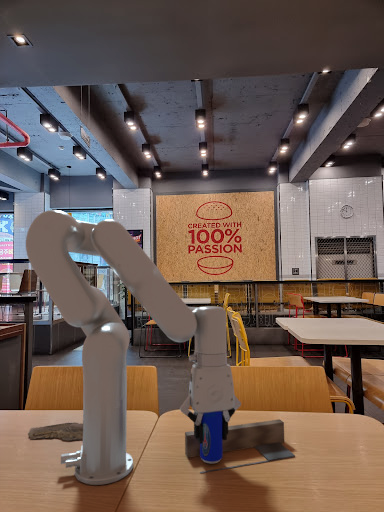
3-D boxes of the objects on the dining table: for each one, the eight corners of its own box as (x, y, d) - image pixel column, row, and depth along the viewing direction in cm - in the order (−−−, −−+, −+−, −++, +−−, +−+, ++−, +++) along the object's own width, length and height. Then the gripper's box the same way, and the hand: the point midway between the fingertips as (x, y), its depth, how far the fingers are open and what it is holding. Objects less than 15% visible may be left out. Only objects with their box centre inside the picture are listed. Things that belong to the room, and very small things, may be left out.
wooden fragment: (16, 440, 89) (16, 436, 89) (39, 423, 100) (39, 419, 100) (110, 445, 87) (110, 440, 87) (123, 427, 97) (123, 423, 98)
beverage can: (196, 455, 78) (196, 390, 80) (215, 451, 81) (215, 387, 82) (206, 466, 74) (206, 396, 75) (226, 461, 76) (226, 393, 77)
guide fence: (196, 474, 72) (195, 449, 73) (185, 453, 81) (185, 432, 82) (300, 456, 80) (300, 434, 80) (280, 438, 88) (279, 419, 89)
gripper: (179, 365, 73) (179, 452, 72) (250, 360, 78) (252, 441, 76) (171, 358, 80) (171, 436, 79) (237, 353, 85) (238, 428, 84)
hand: (211, 438), depth 78 cm, fingers closed on beverage can, 5 cm apart
